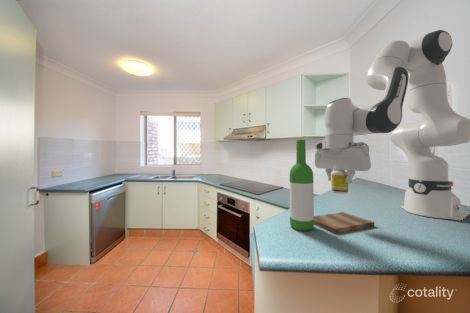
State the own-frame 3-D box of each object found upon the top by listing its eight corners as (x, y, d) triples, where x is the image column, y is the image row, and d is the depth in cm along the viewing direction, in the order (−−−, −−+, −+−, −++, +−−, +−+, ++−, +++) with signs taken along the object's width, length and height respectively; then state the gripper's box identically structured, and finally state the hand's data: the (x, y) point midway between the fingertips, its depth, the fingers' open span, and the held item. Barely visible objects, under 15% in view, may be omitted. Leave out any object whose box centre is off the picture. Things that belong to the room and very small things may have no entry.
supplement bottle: (350, 194, 62) (350, 165, 62) (333, 193, 63) (333, 165, 63) (344, 191, 67) (344, 165, 67) (328, 190, 68) (328, 165, 68)
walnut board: (343, 215, 74) (343, 212, 74) (374, 226, 62) (374, 222, 62) (307, 221, 68) (307, 217, 68) (334, 233, 57) (334, 229, 57)
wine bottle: (307, 222, 66) (306, 141, 66) (318, 231, 58) (317, 139, 59) (286, 223, 66) (285, 141, 66) (294, 232, 58) (294, 138, 58)
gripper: (375, 141, 56) (376, 185, 56) (323, 145, 76) (324, 178, 76) (361, 141, 54) (361, 187, 54) (311, 145, 74) (312, 179, 74)
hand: (339, 182), depth 65 cm, fingers closed on supplement bottle, 5 cm apart
